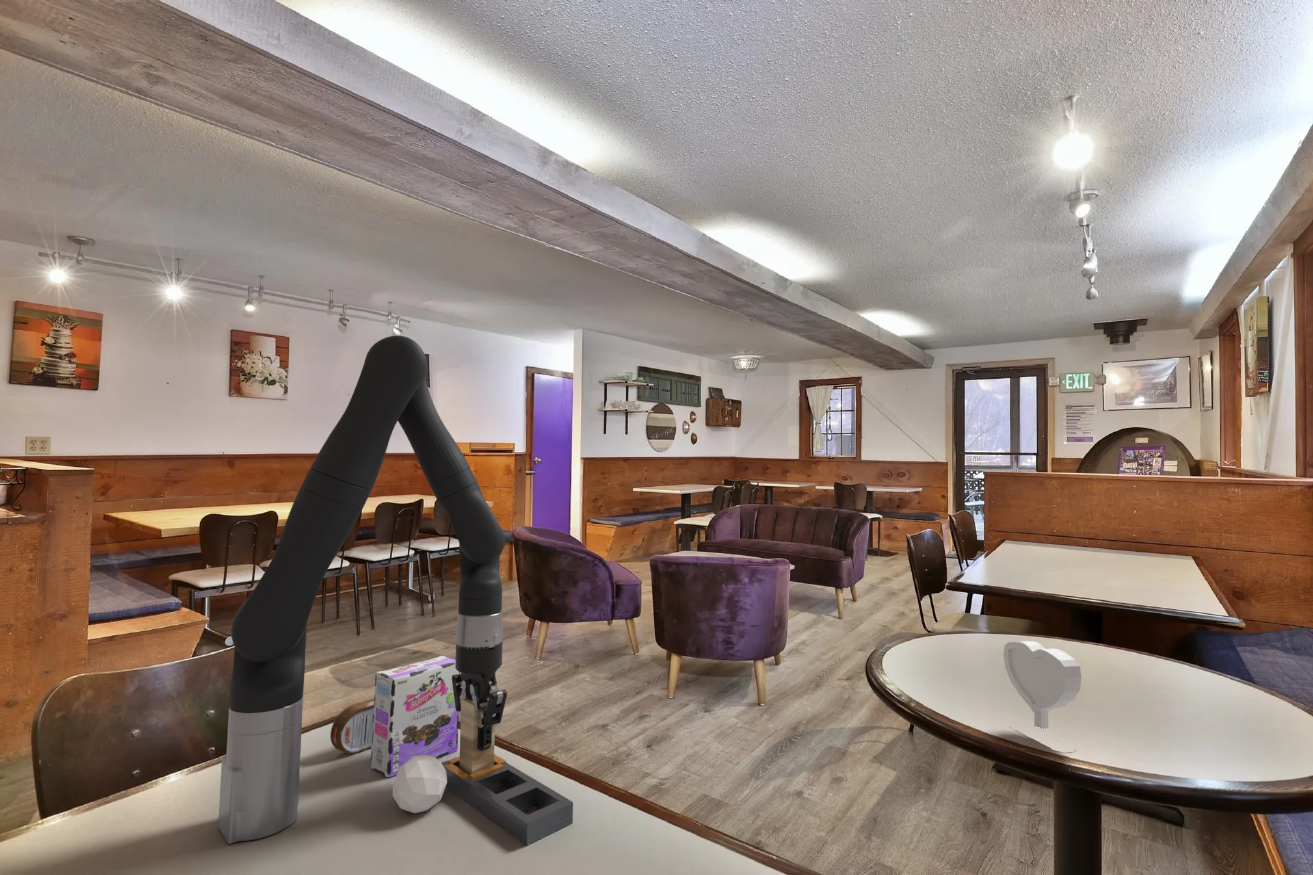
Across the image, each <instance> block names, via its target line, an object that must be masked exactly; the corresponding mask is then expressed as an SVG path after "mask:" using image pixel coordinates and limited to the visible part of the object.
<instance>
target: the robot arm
mask: <svg viewBox="0 0 1313 875" xmlns="http://www.w3.org/2000/svg"><path fill="white" fill-rule="evenodd" d="M427 374H428V360H427V357H426V354H425V352H424V351H423V349H422V347H421V346H420V345H419V344H418V343H417V342H416V341H415V340H413V339H412V338H410V337H407V336H404V335H390V336H386V337H384V338H382V339H379V340H378V341H377V342H375V343H374V344H373V345H372V346H371V347H370V348H369V350H368V352H367V353H366V357H365V359H364V362H363V366H362V368H361V371H360V374H359V377H358V379H357V383H356V385H355V387H354V389H353V393H352V395H351V397H350V400H349V402H348V404H347V406H346V408H345V410H344V411H343V413H342V415H341V417H340V419H339V420H338V422H337V423H336V425H335V426H334V427H333V429H332V431H331V432H330V434H329V435H328V437H327V438H326V440H325V442H324V443H323V445H322V447H321V449H320V450H319V452H318V453H317V455H316V457H315V459H314V461H313V462H312V464H311V466H310V469H309V470H308V471H307V474H306V475H305V477H304V480H303V481H302V484H301V486H300V487H299V490H298V491H297V494H296V496H295V499H294V501H293V503H292V505H291V508H290V511H289V513H288V516H287V518H286V522H285V524H284V527H283V530H282V532H281V536H280V538H279V542H278V545H277V548H276V550H275V551H274V554H273V557H272V558H271V560H270V562H269V564H268V566H267V568H266V569H265V571H264V573H263V574H262V576H261V578H260V579H259V581H258V583H257V584H256V586H255V587H254V589H253V591H252V592H251V594H250V596H249V597H247V598H246V599H245V600H244V601H243V603H242V604H241V605H240V607H239V608H238V611H237V612H236V614H235V615H234V617H233V620H232V622H231V628H230V633H231V636H230V637H231V640H232V644H233V645H234V648H233V650H234V652H233V664H232V665H233V666H232V674H231V680H230V681H231V682H230V687H229V696H228V697H229V698H228V701H229V702H228V721H227V723H228V724H227V740H226V741H227V742H226V757H224V758H222V759H221V767H220V785H219V786H220V790H219V803H218V804H219V805H218V806H219V807H218V820H217V821H218V822H217V823H218V824H217V825H218V827H217V828H218V829H219V831H220V832H221V835H223V837H224V839H225V841H226V843H227V844H228V845H230V844H233V843H237V842H242V841H252V840H259V839H262V838H266V837H269V836H271V835H274V834H277V833H279V832H280V831H283V830H284V829H286V828H288V827H289V826H290V825H292V824H293V823H294V822H295V821H296V820H297V817H298V810H299V794H300V793H299V791H300V790H299V789H300V788H299V787H300V770H301V769H300V768H301V752H302V751H301V750H302V749H301V748H302V747H301V746H302V728H303V710H304V708H303V707H304V706H303V704H304V687H305V673H306V672H305V671H306V652H307V651H306V646H307V631H308V630H307V629H308V628H307V627H308V620H309V617H310V615H311V611H312V610H313V606H314V603H315V600H316V599H317V595H318V593H319V591H320V587H321V585H322V583H323V580H324V579H325V575H326V573H327V572H328V570H329V568H330V567H331V565H332V562H333V561H334V559H336V556H337V555H338V553H339V551H340V550H341V548H342V546H343V545H344V543H345V542H346V540H347V538H348V536H349V535H350V534H351V532H352V530H353V528H354V527H355V524H356V522H357V520H358V519H359V517H360V515H361V513H362V511H363V509H364V507H365V506H366V503H367V501H368V498H370V497H369V496H370V495H371V492H372V490H373V488H374V486H375V483H376V482H377V481H376V480H377V478H378V476H379V473H380V471H381V468H382V465H383V461H384V459H385V457H386V453H387V449H388V448H389V443H390V440H391V437H392V434H393V431H394V429H395V427H396V425H397V422H398V424H399V425H400V427H401V429H402V431H403V433H404V434H405V436H406V437H407V440H408V442H409V445H410V446H411V448H412V450H413V453H414V454H415V456H416V457H415V458H416V459H417V461H418V464H419V466H420V468H421V470H422V473H423V474H424V476H425V479H426V481H427V483H428V485H429V487H430V489H431V491H432V493H433V495H434V497H435V499H436V500H437V503H438V505H439V506H440V508H441V510H442V511H443V512H444V513H445V514H446V516H447V519H448V520H449V523H450V525H451V528H452V530H453V532H454V535H455V536H456V539H457V542H458V548H459V550H458V551H459V552H458V553H459V575H460V579H459V581H460V582H459V590H458V608H457V609H458V610H457V611H458V612H457V621H456V630H455V668H456V670H457V671H459V672H460V674H456V675H453V676H452V685H453V692H454V700H455V708H456V711H457V712H459V713H461V699H463V700H467V698H468V699H469V700H471V701H473V705H475V712H476V713H477V714H478V726H479V727H478V741H477V749H478V750H480V751H483V750H486V749H489V748H490V747H491V743H492V726H493V725H495V726H496V725H498V724H501V723H502V718H503V713H504V710H505V704H506V701H507V697H508V692H507V690H506V689H499V687H498V684H497V683H498V682H497V677H496V672H497V671H498V670H499V669H500V668H501V667H502V665H503V638H504V637H503V636H504V633H503V632H504V623H503V622H504V621H503V620H504V619H503V614H502V613H503V610H502V606H503V585H502V579H501V577H500V576H501V575H500V563H501V562H500V561H501V555H502V554H503V551H504V549H505V546H506V536H505V533H504V531H503V528H502V527H501V524H500V523H499V521H498V519H497V517H496V516H495V514H494V513H493V511H492V509H491V507H490V506H489V504H488V502H487V501H486V499H485V497H484V495H483V493H482V490H481V488H480V485H479V483H478V481H477V478H476V476H475V475H474V472H473V471H472V469H471V467H470V464H469V463H468V460H467V458H466V457H465V455H464V453H463V452H462V451H461V448H460V447H459V445H458V443H457V442H456V441H455V439H454V438H453V436H452V434H451V433H450V432H449V430H448V428H447V427H446V426H445V424H444V422H443V420H442V419H441V416H440V415H439V413H438V411H437V409H436V406H435V404H434V402H433V399H432V396H431V393H430V390H429V386H428V384H427V379H426V378H427ZM486 702H488V705H485V706H482V707H481V706H480V704H482V703H486ZM484 711H486V715H485V719H484V716H483V712H484ZM494 714H495V716H494Z"/></svg>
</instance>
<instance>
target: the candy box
mask: <svg viewBox="0 0 1313 875" xmlns="http://www.w3.org/2000/svg"><path fill="white" fill-rule="evenodd" d="M460 673H461V672H459V671H457V670H456V668H455V659H454V658H451V657H448V656H444V655H439V656H437V657H434V658H431V659H427V660H422V661H418V662H414V663H410V664H406V665H402V666H398V667H394V668H390V669H387V670H379V671H375V674H374V675H375V677H374V678H375V680H374V698H373V699H374V715H373V735H372V748H371V753H370V755H371V756H370V769H373V771H376V772H377V773H379V774H381V775H383V777H386V778H388V777H389V778H392V777H394V776H396V775H397V773H398V770H399V768H400V766H402V765H403V764H404V763H406V762H407V761H408V760H410V759H411V758H412V757H414V756H419V755H429V756H432V757H434V758H436V759H439V758H442V757H445V756H447V755H450V754H452V753H454V752H457V751H458V748H459V747H458V746H459V745H458V744H459V718H460V717H459V716H460V715H459V714H460V711H459V712H457V711H456V708H455V700H454V692H453V685H452V676H453V675H456V674H460Z"/></svg>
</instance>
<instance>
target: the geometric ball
mask: <svg viewBox="0 0 1313 875" xmlns="http://www.w3.org/2000/svg"><path fill="white" fill-rule="evenodd" d="M441 763H442V762H441V761H440V759H439V758H437V759H436V758H434V757H432V756H429V755H419V756H414V757H412V758H411V759H410V760H408V761H407V762H406V763H404V764H403V765H402V766H400V768H399V770H398V773H397V775H395V778H394V780H393V784H392V797H393V798H394V800H395V802H396V803H397V805H398V807H399V808H400V809H401V810H404V811H407V812H410V813H413V814H418V813H419V814H420V813H423V812H427V811H428V810H429V809H431V808H432V807H434V806H435V805H436V804H437V803H439V802H440V801H441V800H442V797H443V795H444V792H445V790H446V784H447V772H446V770H445V768H444V766H443V765H442V764H441Z"/></svg>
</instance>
